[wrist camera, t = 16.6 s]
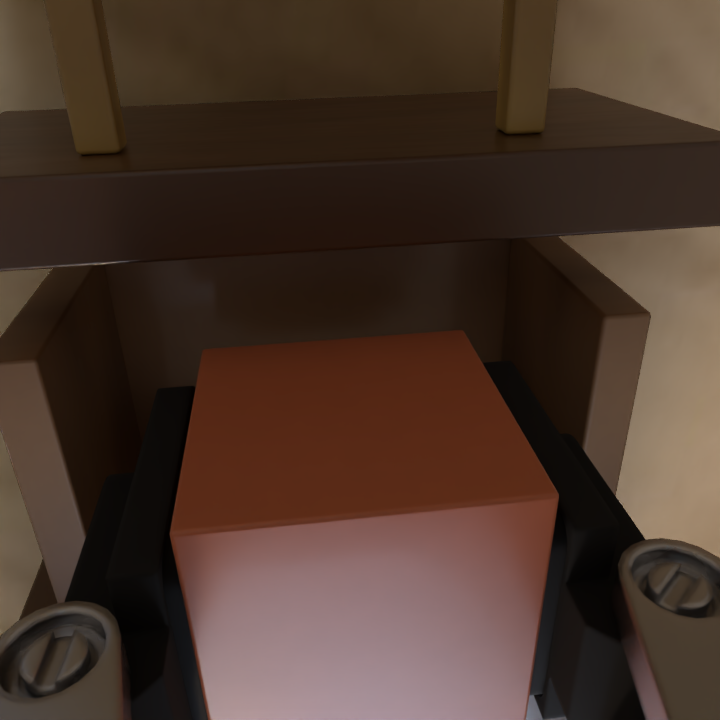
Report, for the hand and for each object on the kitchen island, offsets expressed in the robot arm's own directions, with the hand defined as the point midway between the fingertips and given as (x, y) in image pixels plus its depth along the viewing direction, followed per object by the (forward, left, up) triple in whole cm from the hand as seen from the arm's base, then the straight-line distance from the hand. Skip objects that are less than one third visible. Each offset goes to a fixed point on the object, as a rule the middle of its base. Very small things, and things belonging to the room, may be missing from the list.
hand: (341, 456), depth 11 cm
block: (0, 0, 0) cm, 0 cm away
